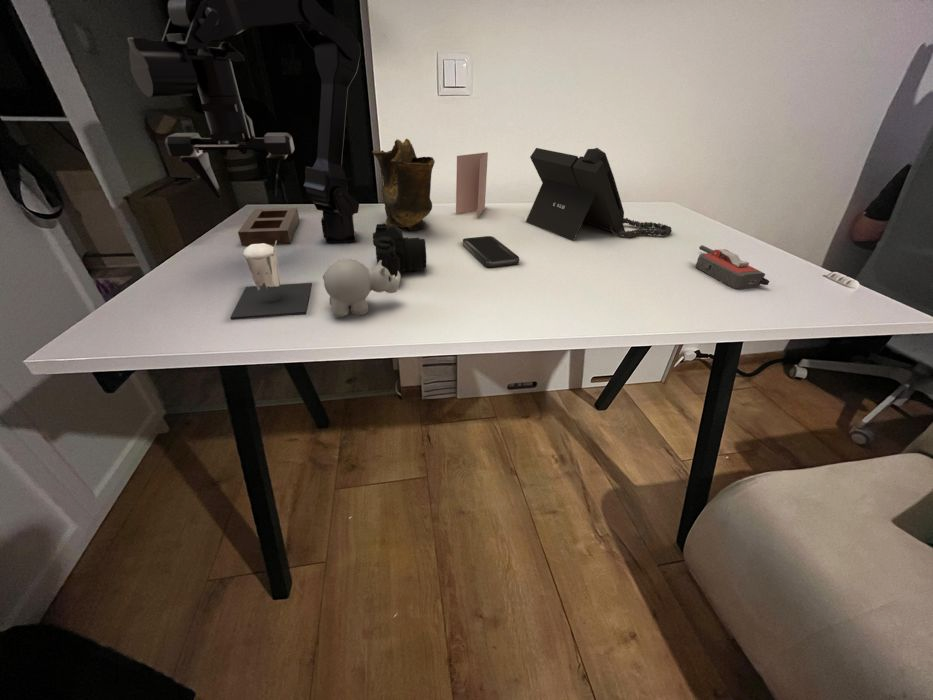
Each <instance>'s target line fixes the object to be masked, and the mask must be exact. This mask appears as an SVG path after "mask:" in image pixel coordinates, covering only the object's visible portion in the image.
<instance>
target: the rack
mask: <svg viewBox="0 0 933 700" xmlns="http://www.w3.org/2000/svg"><path fill="white" fill-rule="evenodd" d="M299 221H300V215H299V211H298V207H286V208H285V207H283V208H255V209H254V210H253V211H252V213H250V215H249V216H248V218H247V219H246V220H245V222H244V223H243V225H242V226H241V227H240V228H239V230H238V231H237V234H238V238H239V240H240V241H239V242H240V245H241V246H249V245H251V244H261V243H264V244H268V245H275V241H276V240H277V242H276V245H290V244H291V242H292V239H293V238H294V235H295V232H296V229H297V227H298V224H299Z"/></svg>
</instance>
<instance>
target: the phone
mask: <svg viewBox="0 0 933 700" xmlns="http://www.w3.org/2000/svg"><path fill="white" fill-rule="evenodd" d="M462 246H463V247H464V248H465V249H466V250H468V251H469V252H470V253H471V255H472V256H474V258H476V259H477V260H478V261H479V262H480V263H481V264H482V265H483V266H484V267H486V268H497V267H505V266H514V265H518V264H519V263H520V256H519V255H517V254H516V253H515V252H514V251H512V250H511V249H510V248H509V247H507V246H506V245H505V244H503V243H502V242H500V241H499V240H498V239H497V238H496V237H494V236H491V235H485V236H476V237H475V236H473V237H466V238H463V239H462Z"/></svg>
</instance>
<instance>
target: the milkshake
mask: <svg viewBox="0 0 933 700" xmlns="http://www.w3.org/2000/svg"><path fill="white" fill-rule="evenodd" d="M276 242H277V240H276V241H275V244H274V245H273V246H272V245H271V244H264V243H261V244H251V245H247V246H246V247H245V249H244V250H243V257H244V259H245V261H246V264H247V266H248V268H249V271H250V274H251V277H252V279H253V281H254V285H255V286H256V287H257V290H258V292H259V295H260V298H261V300H262V301H264V302H274V301H278V300H279V299H281V298H282V291H281V285H282V284H281V280H280V274H279V268H278V260H277V253H276V247H277V244H276Z"/></svg>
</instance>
